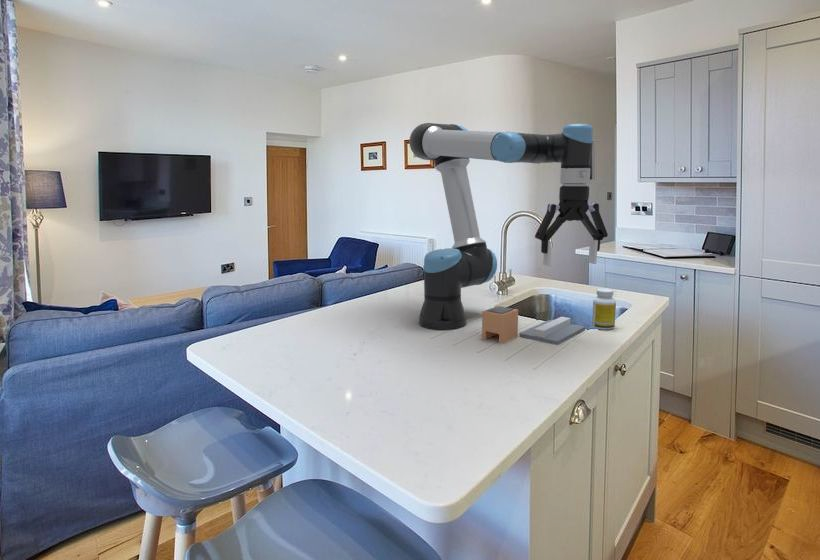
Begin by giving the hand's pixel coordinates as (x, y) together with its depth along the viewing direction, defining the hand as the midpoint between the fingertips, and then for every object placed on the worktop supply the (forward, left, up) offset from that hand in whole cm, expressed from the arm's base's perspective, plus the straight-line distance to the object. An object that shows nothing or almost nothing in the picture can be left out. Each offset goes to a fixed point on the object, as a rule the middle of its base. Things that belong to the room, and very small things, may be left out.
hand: (569, 264), depth 137 cm
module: (-16, -9, -22) cm, 29 cm away
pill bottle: (+3, +19, -22) cm, 29 cm away
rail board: (-6, +4, -22) cm, 23 cm away
